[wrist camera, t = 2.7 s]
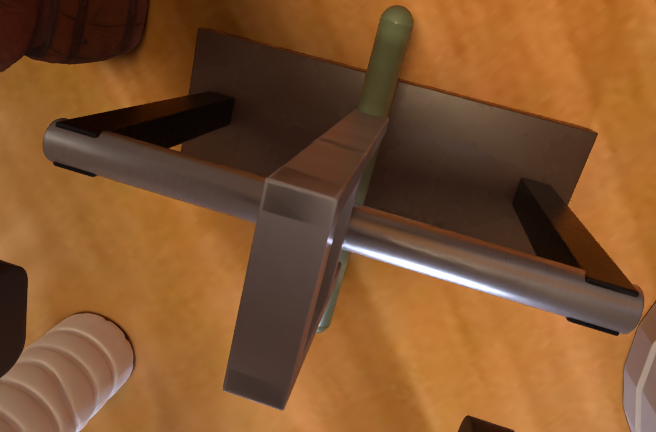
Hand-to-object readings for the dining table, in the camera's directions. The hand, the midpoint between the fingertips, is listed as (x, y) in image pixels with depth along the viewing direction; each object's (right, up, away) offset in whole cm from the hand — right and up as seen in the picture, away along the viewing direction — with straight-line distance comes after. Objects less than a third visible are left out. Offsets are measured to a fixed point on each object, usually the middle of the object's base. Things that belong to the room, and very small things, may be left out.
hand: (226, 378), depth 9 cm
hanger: (+3, +5, +15) cm, 16 cm away
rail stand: (+4, +7, +21) cm, 23 cm away
